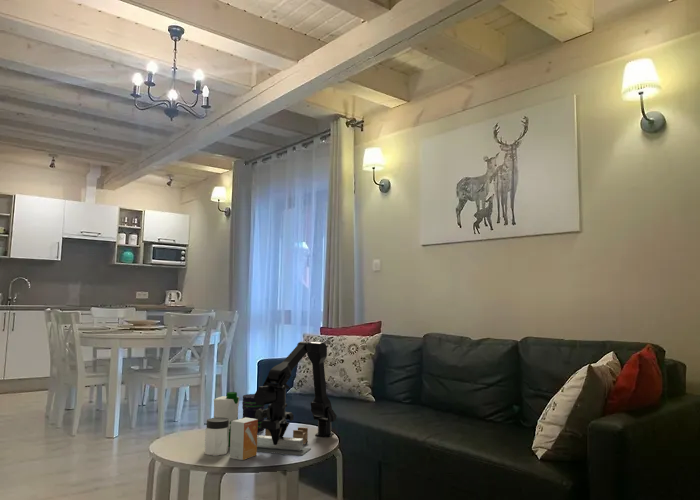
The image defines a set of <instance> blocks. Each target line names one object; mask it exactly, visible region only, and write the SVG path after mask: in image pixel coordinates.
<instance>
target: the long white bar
mask: <svg viewBox="0 0 700 500" xmlns="http://www.w3.org/2000/svg"><path fill="white" fill-rule="evenodd" d="M257 447H263V448H275V449H287V450H299V451H300V450H301V449H303V448H304V445H303V439H301V438H293V437H286V436H283V437H279V439H278V442H277V445H274V444H273V440H272V437H271V436H265V435H261V434H260V435H258V434H257Z"/></svg>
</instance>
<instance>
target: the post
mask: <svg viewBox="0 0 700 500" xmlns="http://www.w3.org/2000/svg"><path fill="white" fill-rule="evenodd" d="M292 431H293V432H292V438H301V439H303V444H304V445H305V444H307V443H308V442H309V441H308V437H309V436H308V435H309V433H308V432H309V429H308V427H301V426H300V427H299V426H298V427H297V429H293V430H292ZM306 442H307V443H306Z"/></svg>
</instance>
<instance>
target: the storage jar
mask: <svg viewBox="0 0 700 500" xmlns="http://www.w3.org/2000/svg"><path fill="white" fill-rule="evenodd" d="M254 395H255V393H248V394H244V395H242V404H241V405H242V406H241V407H242V418H245V417H246V418H253V419H257V418H255V413H256V410H259V409H262V410H265V407H266V406H265V405H261V406H259V405H257V404H256V403H255V400H254ZM264 420H265V418H264V419H261V420H260V421H258V431H257V433H262V432H264V431H265V429H261V422H262V421H264Z"/></svg>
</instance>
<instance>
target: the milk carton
mask: <svg viewBox="0 0 700 500" xmlns="http://www.w3.org/2000/svg"><path fill="white" fill-rule="evenodd" d="M239 404H240V396H238V393H237V392H235V391H228V392H226V396H225V395H223V396H218V397H217V398H214V399H213V409H214V410H213V418H219V417H221V418H228V419H229V441H228V448H230V437H231V421H234V420H237V419H239Z"/></svg>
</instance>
